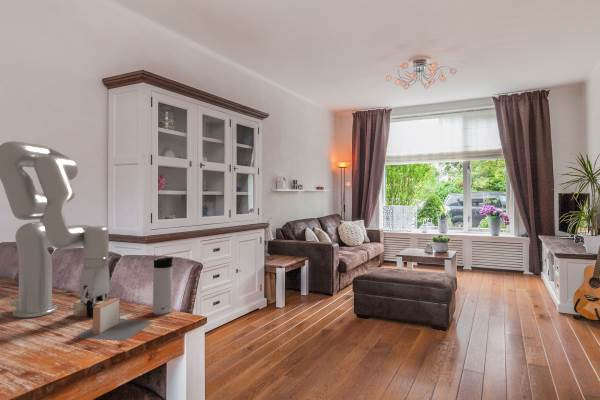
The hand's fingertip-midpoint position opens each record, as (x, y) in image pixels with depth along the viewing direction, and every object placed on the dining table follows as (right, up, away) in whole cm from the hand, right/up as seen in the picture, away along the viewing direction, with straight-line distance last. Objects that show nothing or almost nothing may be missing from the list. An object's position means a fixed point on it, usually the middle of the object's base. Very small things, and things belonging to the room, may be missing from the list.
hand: (95, 315), depth 128 cm
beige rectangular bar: (+2, 0, 0) cm, 2 cm away
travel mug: (+22, -1, +4) cm, 22 cm away
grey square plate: (+13, -1, -13) cm, 19 cm away
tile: (+11, 0, -13) cm, 17 cm away
